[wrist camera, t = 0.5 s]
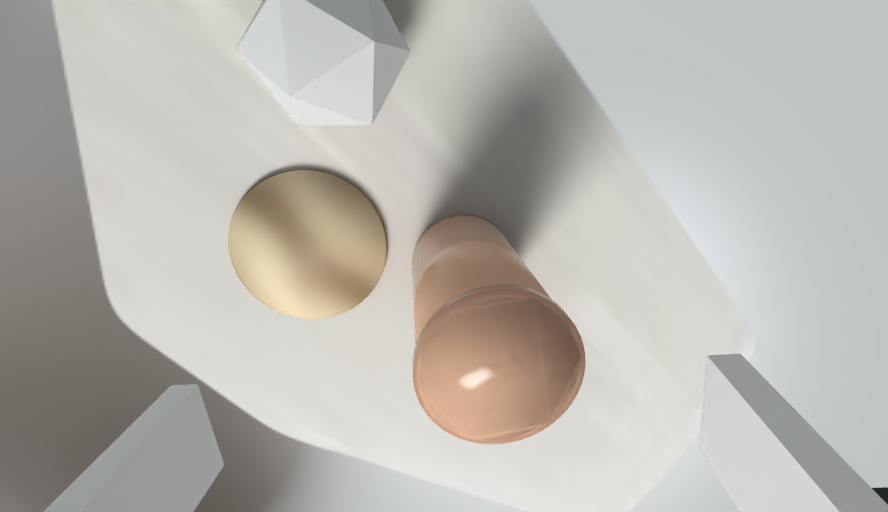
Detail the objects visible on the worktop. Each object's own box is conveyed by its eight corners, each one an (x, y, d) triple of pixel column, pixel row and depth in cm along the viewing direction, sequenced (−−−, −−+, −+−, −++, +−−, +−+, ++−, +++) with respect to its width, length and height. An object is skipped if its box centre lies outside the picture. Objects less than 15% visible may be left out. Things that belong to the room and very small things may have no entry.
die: (429, 37, 31) (372, -102, 22) (410, 158, 29) (338, 60, 20) (319, 44, 33) (226, -81, 24) (294, 156, 32) (184, 67, 23)
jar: (449, 192, 34) (481, 257, 20) (534, 249, 36) (620, 347, 21) (389, 278, 35) (379, 396, 21) (473, 329, 37) (515, 469, 23)
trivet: (278, 137, 32) (277, 138, 31) (415, 226, 34) (416, 227, 34) (202, 267, 34) (200, 269, 34) (336, 341, 37) (335, 343, 36)
